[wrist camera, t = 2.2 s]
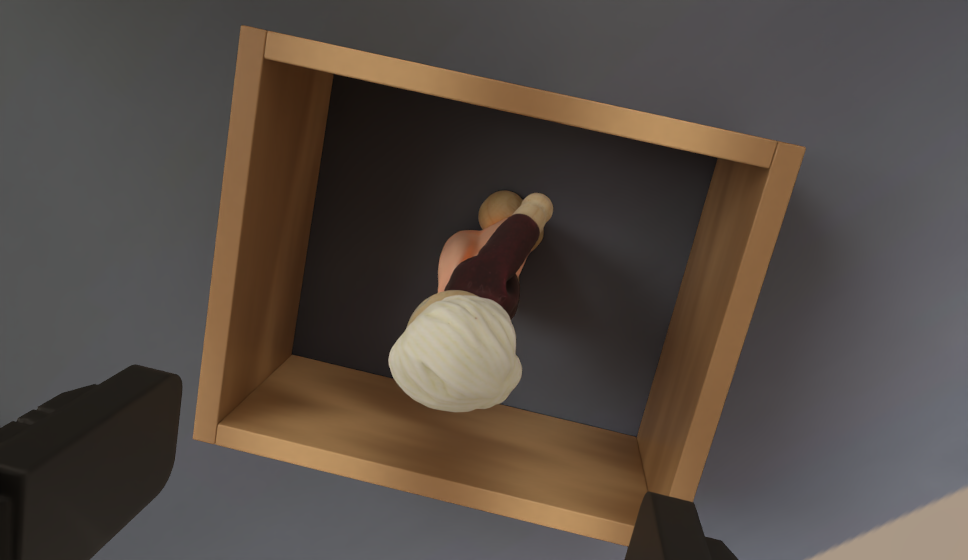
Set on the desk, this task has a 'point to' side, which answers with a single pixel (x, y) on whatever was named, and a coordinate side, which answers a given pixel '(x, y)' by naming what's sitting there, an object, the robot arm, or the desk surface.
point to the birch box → (380, 400)
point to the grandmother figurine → (472, 311)
